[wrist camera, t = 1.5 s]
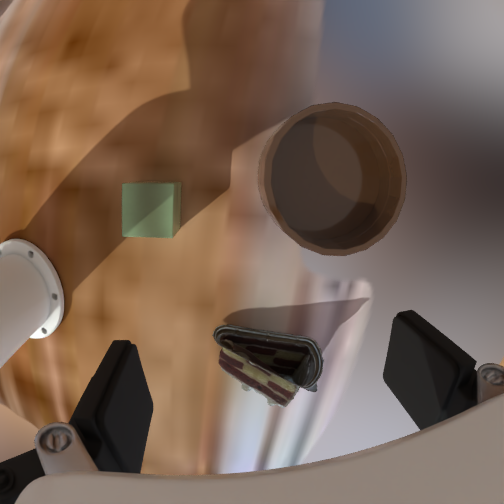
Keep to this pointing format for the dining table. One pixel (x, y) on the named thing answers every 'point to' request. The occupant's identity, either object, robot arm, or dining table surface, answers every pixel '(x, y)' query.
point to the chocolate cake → (269, 361)
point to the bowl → (333, 179)
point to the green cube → (151, 209)
